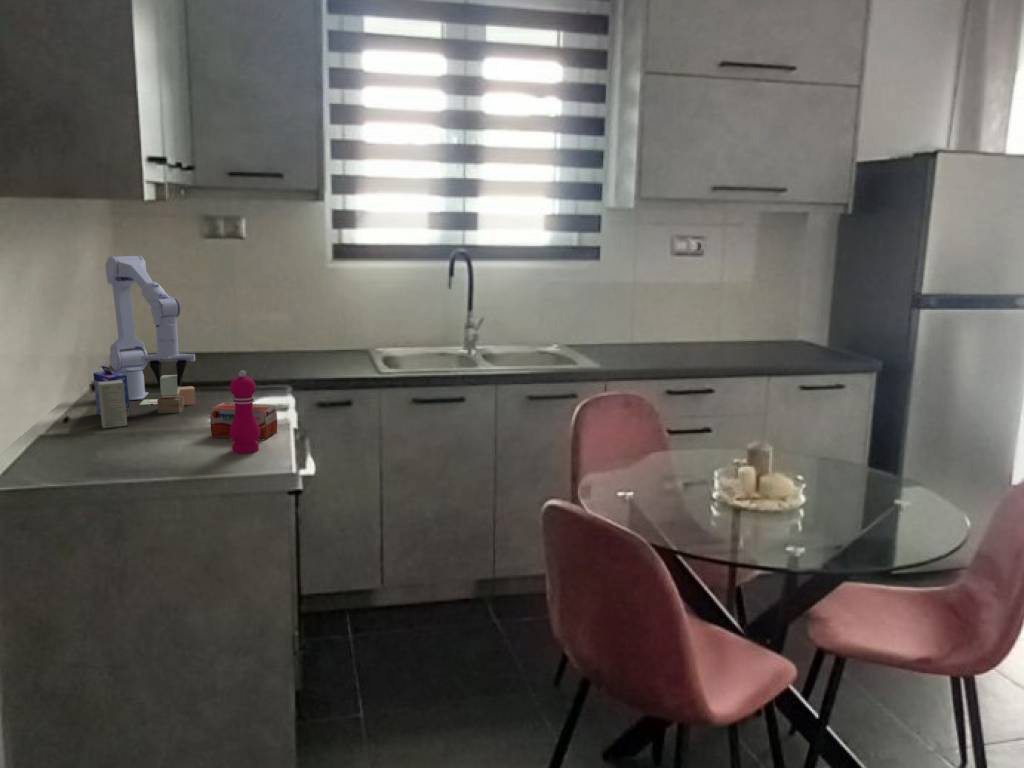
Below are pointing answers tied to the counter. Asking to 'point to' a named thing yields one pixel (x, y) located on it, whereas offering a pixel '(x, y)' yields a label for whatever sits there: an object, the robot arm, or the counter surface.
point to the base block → (170, 404)
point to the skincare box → (112, 403)
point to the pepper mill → (244, 415)
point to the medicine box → (225, 414)
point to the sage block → (169, 385)
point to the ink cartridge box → (111, 376)
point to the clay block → (188, 395)
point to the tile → (149, 402)
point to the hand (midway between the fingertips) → (170, 386)
